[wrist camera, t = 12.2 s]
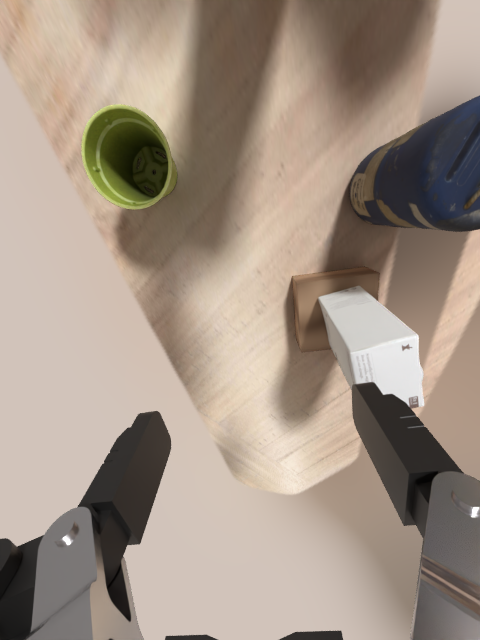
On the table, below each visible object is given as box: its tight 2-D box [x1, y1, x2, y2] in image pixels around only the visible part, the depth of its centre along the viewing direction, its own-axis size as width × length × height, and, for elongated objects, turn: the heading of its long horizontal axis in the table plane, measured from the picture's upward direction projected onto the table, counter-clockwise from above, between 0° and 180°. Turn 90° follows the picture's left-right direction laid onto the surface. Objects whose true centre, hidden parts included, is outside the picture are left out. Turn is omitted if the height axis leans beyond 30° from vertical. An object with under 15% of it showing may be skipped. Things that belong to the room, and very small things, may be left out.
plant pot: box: [81, 104, 177, 210], centre depth 30 cm, size 9×9×9 cm
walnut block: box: [292, 267, 380, 352], centre depth 38 cm, size 11×11×5 cm
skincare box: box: [318, 286, 424, 408], centre depth 29 cm, size 8×6×15 cm
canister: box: [350, 96, 480, 232], centre depth 25 cm, size 10×10×18 cm
